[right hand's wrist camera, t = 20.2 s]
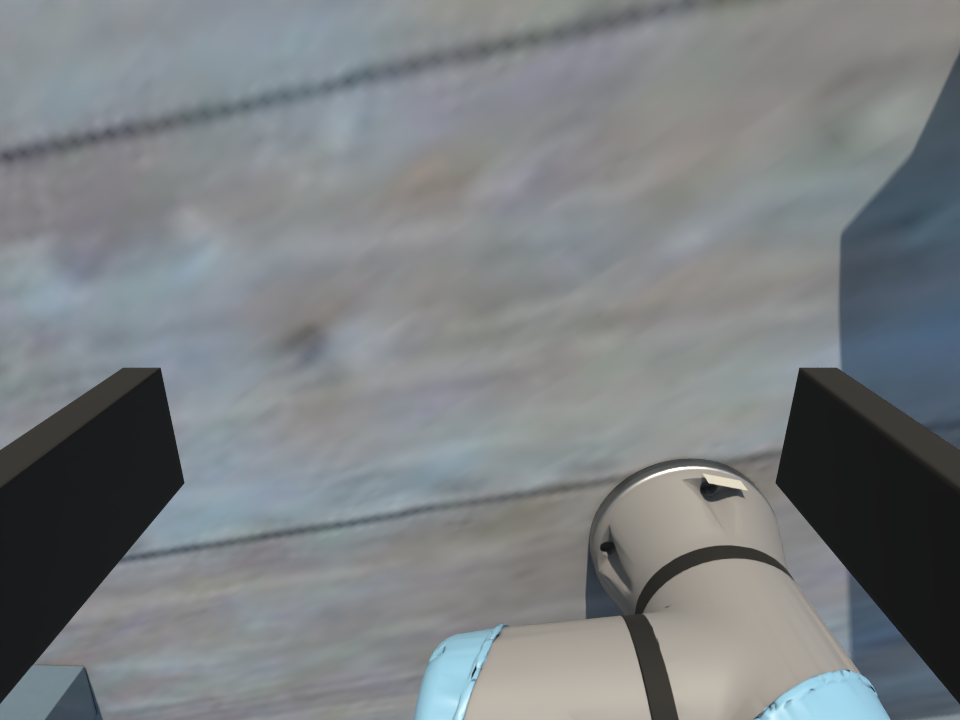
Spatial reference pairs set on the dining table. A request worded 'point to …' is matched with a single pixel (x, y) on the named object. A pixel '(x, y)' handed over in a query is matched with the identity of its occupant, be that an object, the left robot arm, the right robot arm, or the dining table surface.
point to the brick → (50, 695)
